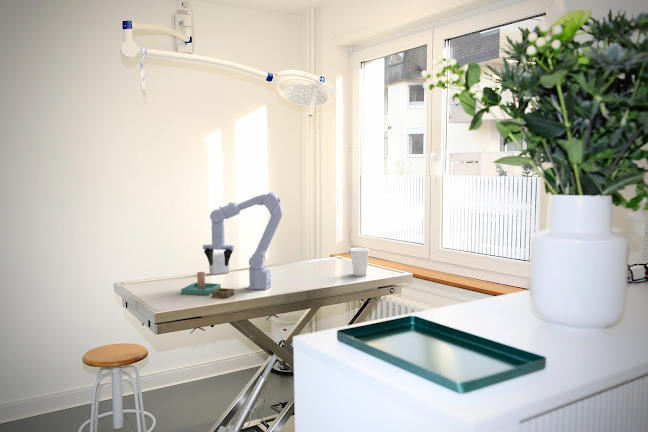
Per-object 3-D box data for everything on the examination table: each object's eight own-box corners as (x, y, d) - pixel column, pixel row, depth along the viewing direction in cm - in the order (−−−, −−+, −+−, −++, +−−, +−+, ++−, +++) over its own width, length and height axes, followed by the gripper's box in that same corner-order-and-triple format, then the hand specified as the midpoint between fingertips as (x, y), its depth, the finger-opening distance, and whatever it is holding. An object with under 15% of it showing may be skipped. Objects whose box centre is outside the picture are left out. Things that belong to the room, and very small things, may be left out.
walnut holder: (233, 294, 239) (233, 288, 239) (227, 298, 233) (227, 292, 232) (218, 293, 241) (218, 288, 241) (212, 297, 234) (211, 291, 234)
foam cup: (346, 274, 280) (346, 249, 279) (360, 271, 286) (360, 247, 285) (359, 277, 273) (359, 251, 272) (372, 274, 278) (373, 249, 277)
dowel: (206, 289, 247) (205, 271, 246) (203, 291, 244) (202, 273, 243) (199, 289, 247) (199, 271, 247) (196, 290, 244) (195, 273, 243)
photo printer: (226, 271, 288) (226, 248, 287) (230, 273, 284) (229, 249, 283) (208, 274, 282) (207, 250, 281) (211, 275, 279) (210, 251, 277)
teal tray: (220, 288, 250) (220, 283, 250) (208, 295, 238) (208, 290, 238) (194, 287, 253) (194, 282, 253) (181, 293, 241) (181, 288, 241)
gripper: (236, 235, 252) (237, 264, 253) (207, 234, 255) (208, 263, 257) (230, 237, 245) (231, 267, 247) (200, 236, 248) (201, 265, 250)
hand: (218, 265), depth 251 cm, fingers open, 7 cm apart
